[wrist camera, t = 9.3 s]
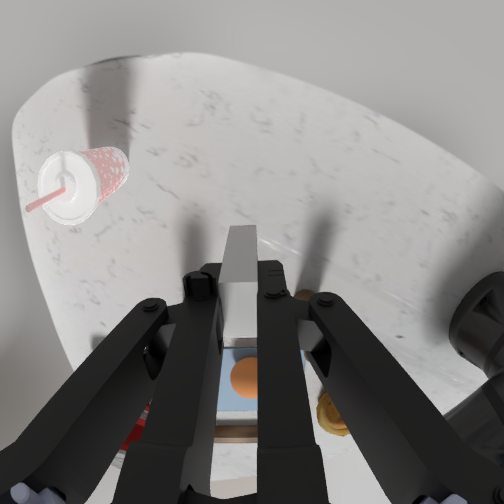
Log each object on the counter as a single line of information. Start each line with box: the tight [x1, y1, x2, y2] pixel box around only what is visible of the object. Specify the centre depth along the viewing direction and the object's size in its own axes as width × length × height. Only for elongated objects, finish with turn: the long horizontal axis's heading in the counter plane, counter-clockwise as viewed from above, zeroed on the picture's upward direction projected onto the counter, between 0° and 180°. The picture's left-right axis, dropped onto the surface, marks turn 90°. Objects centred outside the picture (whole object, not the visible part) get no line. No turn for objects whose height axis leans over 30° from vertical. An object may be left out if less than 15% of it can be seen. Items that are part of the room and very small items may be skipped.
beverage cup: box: [25, 147, 129, 225], centre depth 22 cm, size 6×6×14 cm
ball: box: [230, 357, 257, 398], centre depth 37 cm, size 6×6×6 cm
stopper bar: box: [214, 426, 258, 443], centre depth 45 cm, size 16×2×2 cm, turn 92°
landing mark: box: [217, 347, 306, 411], centre depth 41 cm, size 14×14×1 cm
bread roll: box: [316, 391, 350, 436], centre depth 40 cm, size 13×10×8 cm
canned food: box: [111, 405, 150, 469], centre depth 40 cm, size 8×8×11 cm
